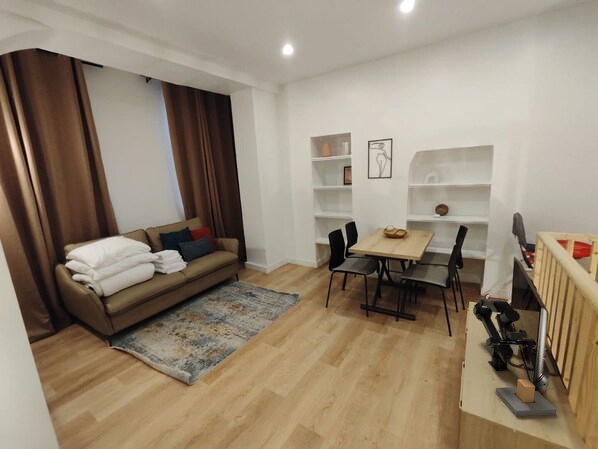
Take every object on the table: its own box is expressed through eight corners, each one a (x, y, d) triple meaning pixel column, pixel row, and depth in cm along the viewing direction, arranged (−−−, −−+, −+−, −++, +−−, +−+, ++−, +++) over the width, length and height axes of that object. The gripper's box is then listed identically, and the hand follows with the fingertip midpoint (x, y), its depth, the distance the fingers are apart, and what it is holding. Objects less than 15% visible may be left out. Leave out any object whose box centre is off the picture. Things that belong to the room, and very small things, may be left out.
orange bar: (515, 399, 120) (517, 379, 118) (525, 398, 120) (527, 379, 118) (522, 407, 116) (525, 386, 114) (532, 406, 116) (534, 386, 114)
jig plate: (495, 392, 124) (496, 387, 123) (532, 391, 123) (532, 386, 123) (515, 416, 112) (515, 410, 112) (555, 414, 111) (556, 409, 111)
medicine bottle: (502, 344, 155) (503, 324, 153) (518, 348, 151) (519, 328, 148) (501, 350, 150) (502, 331, 147) (517, 355, 145) (519, 335, 143)
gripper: (490, 321, 126) (500, 359, 118) (537, 323, 122) (551, 362, 114) (481, 327, 135) (490, 362, 127) (525, 329, 131) (537, 365, 123)
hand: (517, 363), depth 122 cm, fingers open, 9 cm apart
